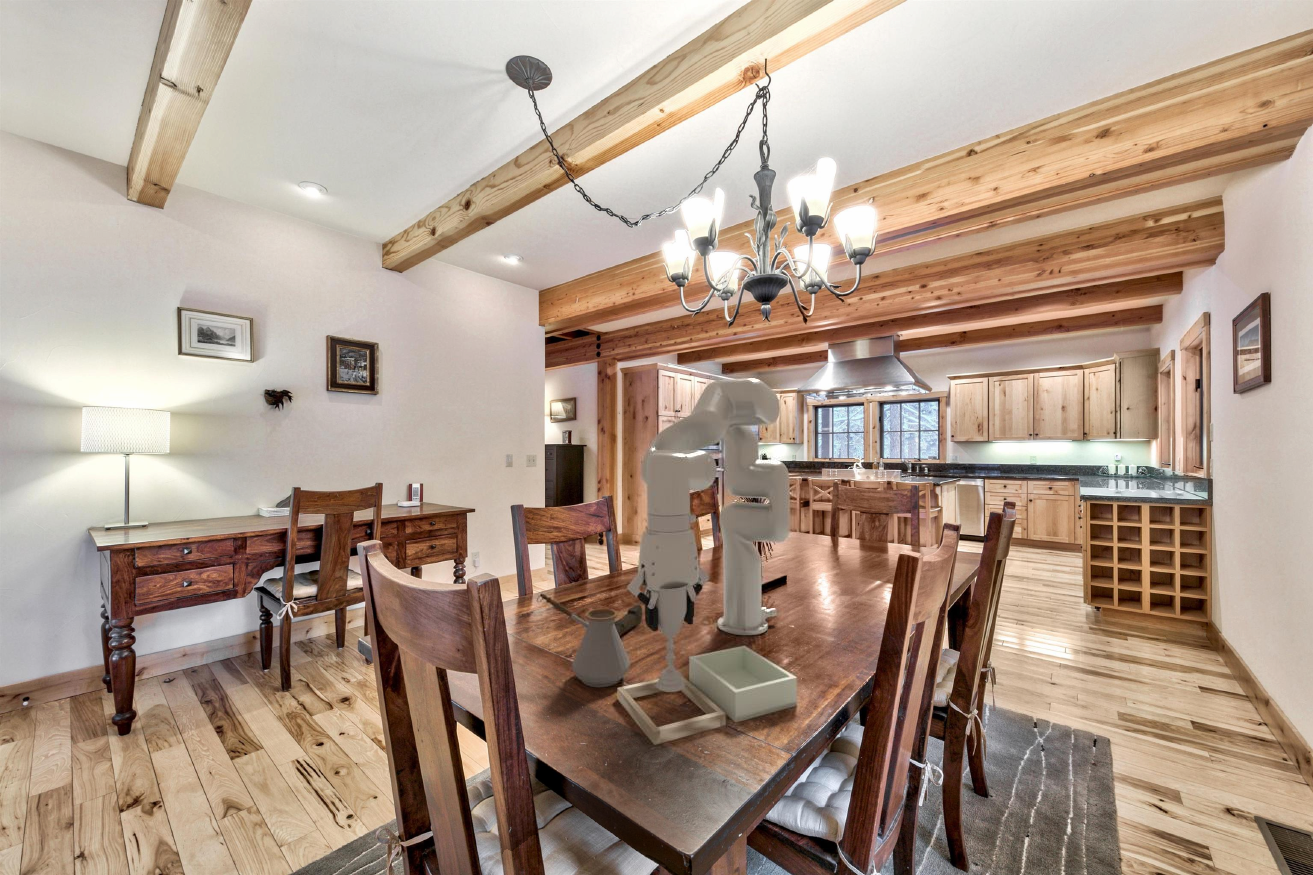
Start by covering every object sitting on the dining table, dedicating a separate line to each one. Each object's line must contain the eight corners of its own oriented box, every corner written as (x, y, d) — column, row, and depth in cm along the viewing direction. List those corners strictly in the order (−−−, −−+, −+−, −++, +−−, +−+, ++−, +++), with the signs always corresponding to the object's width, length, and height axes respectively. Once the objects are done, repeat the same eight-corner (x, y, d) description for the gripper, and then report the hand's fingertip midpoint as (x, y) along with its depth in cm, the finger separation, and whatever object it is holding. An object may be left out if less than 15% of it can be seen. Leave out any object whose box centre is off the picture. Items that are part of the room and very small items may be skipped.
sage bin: (744, 669, 106) (744, 645, 106) (796, 705, 92) (796, 677, 92) (689, 682, 101) (689, 656, 101) (735, 722, 86) (735, 692, 86)
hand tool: (612, 647, 119) (612, 626, 119) (598, 643, 121) (598, 624, 121) (651, 622, 136) (651, 604, 136) (637, 619, 138) (637, 602, 138)
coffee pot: (640, 672, 105) (640, 598, 105) (611, 697, 95) (611, 615, 95) (555, 653, 115) (555, 586, 115) (520, 674, 104) (520, 600, 104)
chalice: (677, 699, 86) (675, 591, 86) (643, 688, 89) (641, 585, 89) (697, 680, 92) (696, 580, 92) (664, 671, 96) (663, 575, 95)
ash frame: (680, 684, 100) (680, 674, 100) (725, 725, 85) (725, 713, 85) (617, 698, 94) (617, 687, 94) (654, 744, 80) (654, 731, 80)
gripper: (700, 516, 97) (701, 611, 98) (615, 524, 90) (616, 626, 90) (722, 522, 91) (723, 624, 91) (631, 531, 83) (632, 642, 83)
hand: (670, 624), depth 91 cm, fingers closed on chalice, 6 cm apart
